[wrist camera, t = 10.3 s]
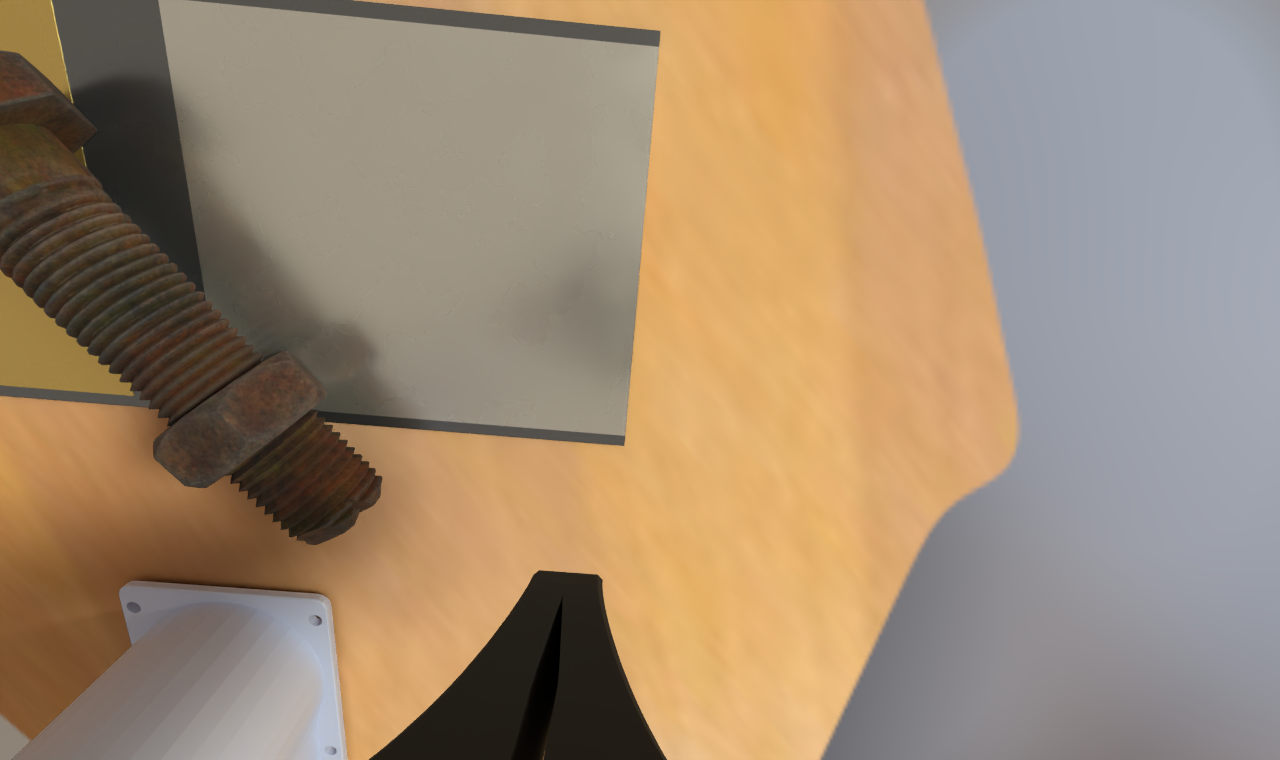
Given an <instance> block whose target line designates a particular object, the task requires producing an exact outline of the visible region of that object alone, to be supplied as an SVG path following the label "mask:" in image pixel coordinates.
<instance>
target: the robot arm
mask: <svg viewBox="0 0 1280 760" xmlns="http://www.w3.org/2000/svg"><path fill="white" fill-rule="evenodd" d="M119 597H120V601H121V605H122V609H123V613H124V617H125V621H126V625H127V629H128V633H129V637H130V641H131V645H132V646H131V647H130V648H129V649H128V650H127V651H126V652H125V653H124V654H123V655H122V656H121V657H120V658H119V659H118V660H116V661H115V662H114V663H113V664H112V665H111V666H110V667H109V668H108V669H107V670H106V671H105V672H104V673H103V674H102V675H101V676H99V677H98V678H97V679H96V680H95V681H94V682H93V683H92V684H91V685H90V686H89V687H88V688H87V689H86V690H85V691H84V692H83V693H81V694H80V695H79V696H78V697H77V698H76V699H75V700H74V701H73V702H72V703H71V704H70V705H69V706H68V707H67V708H66V709H64V710H63V711H62V712H61V713H60V714H59V715H58V716H57V717H56V718H55V719H54V720H53V721H52V722H51V723H50V724H49V725H48V726H46V727H45V728H44V729H43V730H42V731H41V732H40V733H39V734H38V735H37V736H36V737H35V738H34V739H33V740H32V741H31V742H29V743H28V744H27V745H26V746H25V747H24V748H23V749H22V750H21V751H20V752H19V753H18V754H17V755H16V756H15V757H14V758H13V759H12V760H348V759H347V749H346V740H345V730H344V721H343V711H342V702H341V692H340V683H339V673H338V664H337V654H336V644H335V635H334V625H333V616H332V606H331V603H330V600H329V599H328V598H327V597H325V596H324V595H321V594H314V593H301V592H287V591H273V590H259V589H246V588H232V587H218V586H204V585H191V584H177V583H163V582H149V581H130V582H128V583H127V584H125V585H124V586H123V587H122V588H121V589H120V591H119ZM315 615H316V616H319V617H320V618H321V619H320V618H317V617H316V616H315ZM544 753H545V754H544ZM543 757H544V759H543ZM369 760H667V759H666V757H665V756H664V754H663V752H662V750H661V749H660V747H659V745H658V743H657V741H656V739H655V738H654V736H653V734H652V732H651V730H650V728H649V726H648V724H647V722H646V720H645V718H644V716H643V714H642V712H641V710H640V708H639V706H638V704H637V701H636V699H635V697H634V695H633V692H632V690H631V688H630V685H629V683H628V680H627V677H626V675H625V672H624V670H623V667H622V664H621V662H620V659H619V656H618V653H617V650H616V647H615V643H614V640H613V637H612V634H611V630H610V627H609V623H608V619H607V614H606V610H605V605H604V599H603V589H602V579H601V578H600V577H599V576H598V575H594V574H581V573H567V572H554V571H540V570H539V571H538V572H537V573H535V574H534V575H533V577H532V579H531V581H530V583H529V585H528V586H527V588H526V590H525V591H524V593H523V594H522V596H521V598H520V599H519V601H518V602H517V604H516V605H515V607H514V608H513V609H512V611H511V612H510V614H509V615H508V617H507V618H506V619H505V621H504V622H503V623H502V625H501V626H500V627H499V629H498V630H497V631H496V633H495V634H494V635H493V637H492V638H491V639H490V641H489V642H488V643H487V644H486V646H485V647H484V648H483V649H482V650H481V651H480V653H479V654H478V655H477V656H476V657H475V659H474V660H473V661H472V662H471V663H470V664H469V666H468V667H467V668H466V669H465V670H464V671H463V673H462V674H461V675H460V676H459V677H458V678H457V679H456V680H455V681H454V682H453V683H452V685H451V686H450V687H449V688H448V689H447V690H446V691H445V692H444V693H443V694H442V695H441V696H440V697H439V698H438V699H437V700H436V701H435V702H434V703H433V704H432V705H431V706H430V707H429V708H428V709H427V710H426V711H425V712H424V713H422V714H421V715H420V716H419V717H418V718H417V719H416V720H415V721H414V722H413V723H411V724H410V725H409V726H408V727H407V728H406V729H405V730H404V731H403V732H402V733H400V734H399V735H398V736H397V737H396V738H395V739H394V740H392V741H391V742H390V743H389V744H388V745H387V746H385V747H384V748H383V749H382V750H380V751H379V752H378V753H377V754H375V755H374V756H373V757H372V758H370V759H369Z"/></svg>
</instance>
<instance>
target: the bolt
mask: <svg viewBox="0 0 1280 760" xmlns="http://www.w3.org/2000/svg"><path fill="white" fill-rule="evenodd" d="M97 131H98V129H97V128H96V127H95V126H94V125H93V124H92V123H91V122H90V121H89V120H88V119H87V118H86V117H85V116H84V115H83V114H82V113H81V112H80V110H79V109H78V108H77V107H76V106H75V105H74V104H73V103H72V102H71V101H70V100H69V99H68V98H67V97H66V96H65V95H64V94H63V93H62V92H61V91H60V90H59V89H58V88H57V87H56V86H55V85H54V84H53V83H52V82H51V81H50V80H49V79H48V78H47V77H46V76H45V75H43V74H42V73H41V72H40V71H39V70H38V69H37V68H36V67H35V66H33V65H32V64H31V63H30V62H29V61H28V60H26V59H25V58H24V57H23V56H22V55H20V54H19V53H16V52H10V51H2V50H0V270H1V271H2V272H3V274H4V275H5V276H7V277H9V278H12V280H13V281H14V283H15V284H16V286H18V287H20V288H22V289H23V291H24V292H25V294H26V295H27V296H28V297H30V298H32V299H33V301H34V302H35V303H36V305H37V306H38V307H39V308H44V310H43V311H44V312H45V314H46V315H47V316H48V317H50V318H55V323H56V324H57V326H59V327H62V328H65V329H66V333H67V334H68V336H71V337H73V338H76V339H77V340H76V341H77V343H78V344H79V345H80V346H81V347H88V349H87V352H88V353H89V355H93V356H99V358H98V363H99V364H101V365H110V367H109V373H111V374H121V377H120V380H119V381H120V382H122V383H132V385H131V388H130V391H142V392H141V395H140V400H151V401H150V404H149V409H160V410H159V414H158V418H167V417H169V421H168V425H167V426H171V427H169V428H168V429H167V430H166V431H164V432H163V433H162V434H160V435H159V436H158V437H157V438H156V439H155V441H154V443H153V454H154V459H155V460H156V461H157V462H159V463H160V464H161V465H162V466H163V467H164V468H165V469H166V470H168V471H169V472H170V473H171V474H172V475H173V476H174V477H175V478H177V479H178V480H179V481H180V482H181V483H182V484H183V485H184V486H188V487H196V488H207V487H209V486H210V485H212V484H213V483H215V482H216V481H217V480H219V479H220V478H222V477H223V476H226V475H232V477H231V484H234V483H240V488H239V492H240V491H247V490H249V491H248V499H253V498H257V503H256V507H260V506H265V515H267V514H273V513H274V514H273V522H278V521H281V530H283V529H288V528H289V537H294V536H297V541H306V543H307V544H310V545H317V544H320V543H322V542H325V541H327V540H330V539H332V538H334V537H336V536H338V535H341V534H343V533H345V532H346V531H347V530H348V529H350V528H351V527H352V526H353V525H354V524H355V522H356V520H357V517H358V515H359V512H361V511H363V510H366V509H368V508H370V507H372V506H373V505H374V504H375V503H376V502H377V500H378V499H379V498H380V494H381V488H380V487H381V482H382V476H375V472H376V470H375V468H368V467H369V462H366V461H361V459H362V456H361V454H354V455H353V453H354V449H355V448H354V447H346V445H347V441H348V440H339V437H340V433H339V432H332V427H333V425H324V422H325V417H316V416H317V412H318V410H311V409H312V408H313V407H315V406H316V405H317V404H318V403H320V402H321V401H322V400H323V399H324V398H325V397H326V396H327V392H326V389H325V388H324V386H323V385H322V383H321V382H320V381H319V380H318V379H317V378H316V377H315V376H314V375H313V374H312V373H311V372H310V371H309V370H308V369H307V368H306V367H305V366H304V365H303V364H302V363H301V361H300V360H299V359H298V358H296V357H295V356H294V355H293V354H291V353H290V352H288V351H281V352H279V353H277V354H276V355H274V356H272V357H270V358H269V359H267V360H265V361H264V362H261V360H262V356H263V353H253V351H254V347H255V345H245V342H246V336H237V333H238V329H239V328H228V326H229V323H230V320H229V319H228V318H224V319H220V317H221V314H222V312H221V311H220V310H219V309H216V310H211V309H212V305H213V302H212V301H203V298H204V293H203V292H198V291H195V288H196V285H195V284H194V283H193V282H185V281H186V278H187V276H186V275H185V274H184V273H183V272H182V273H176V272H177V265H176V264H174V263H168V261H169V258H168V256H167V255H166V254H164V253H161V254H158V253H159V250H160V248H159V247H158V246H157V245H156V244H155V243H154V244H150V237H149V236H147V235H146V234H140V233H141V229H140V228H139V226H137V225H136V224H131V223H132V221H131V218H130V216H129V215H126V214H123V213H122V210H121V207H119V206H118V205H117V204H116V203H113V202H112V199H111V198H110V197H109V196H108V195H107V193H106V192H105V191H104V190H103V187H102V184H101V183H100V182H99V180H98V179H97V178H96V177H95V176H94V175H93V174H92V173H91V172H90V171H89V170H88V169H87V168H86V167H85V166H84V165H83V164H82V163H81V162H80V161H79V160H78V159H77V158H76V157H75V156H74V155H73V154H74V153H75V152H76V151H77V150H78V149H79V148H80V147H81V146H82V145H83V144H85V143H86V142H87V141H88V140H89V139H90V138H91V137H92V136H93V135H94V134H95V133H96V132H97Z"/></svg>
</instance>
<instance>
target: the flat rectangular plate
mask: <svg viewBox="0 0 1280 760" xmlns="http://www.w3.org/2000/svg"><path fill="white" fill-rule="evenodd" d="M659 41H660V31H655V30H645V29H635V28H624V27H614V26H604V25H594V24H584V23H574V22H564V21H554V20H544V19H534V18H524V17H514V16H504V15H494V14H484V13H474V12H464V11H454V10H444V9H434V8H423V7H413V6H403V5H393V4H383V3H373V2H363V1H353V0H0V50H2V51H10V52H16V53H19V54H20V55H22V56H23V57H24V58H25V59H26V60H28V61H29V62H30V63H31V64H32V65H33V66H35V67H36V68H37V69H38V70H39V71H40V72H41V73H42V74H43V75H45V76H46V77H47V78H48V79H49V80H50V81H51V82H52V83H53V84H54V85H55V86H56V87H57V88H58V89H59V90H60V91H61V92H62V93H63V94H64V95H65V96H66V97H67V98H68V99H69V100H70V101H71V102H72V103H73V104H74V105H75V106H76V107H77V108H78V109H79V110H80V112H81V113H82V114H83V115H84V116H85V117H86V118H87V119H88V120H89V121H90V122H91V123H92V124H93V125H94V126H95V127H96V128H97V129H98V131H97V132H96V133H95V134H94V135H93V136H92V137H91V138H90V139H89V140H88V141H87V142H86V143H85V144H83V145H82V146H81V147H80V148H79V149H78V150H77V151H76V152H75V153H74V154H73V155H74V156H75V157H76V158H77V159H78V160H79V161H80V162H81V163H82V164H83V165H84V166H85V167H86V168H87V169H88V170H89V171H90V172H91V173H92V174H93V175H94V176H95V177H96V178H97V179H98V180H99V182H100V183H101V184H102V187H103V190H104V191H105V192H106V193H107V195H108V196H109V197H110V198H111V199H112V202H113V203H116V204H117V205H118V206H119V207H121V210H122V213H123V214H126V215H129V216H130V218H131V221H132V223H131V224H136V225H137V226H139V228H140V229H141V233H140V234H146V235H147V236H149V237H150V244H154V243H155V244H156V245H157V246H158V247H159V248H160V250H159V253H158V254H161V253H164V254H166V255H167V256H168V258H169V261H168V263H174V264H176V265H177V272H176V273H182V272H183V273H184V274H185V275H186V276H187V278H186V281H185V282H193V283H194V284H195V285H196V288H195V291H198V292H203V293H204V298H203V301H212V302H213V305H212V309H211V310H216V309H219V310H220V311H221V312H222V314H221V317H220V319H224V318H228V319H229V320H230V323H229V326H228V328H239V329H238V333H237V336H246V342H245V345H255V347H254V351H253V353H263V356H262V360H261V362H264V361H265V360H267V359H269V358H270V357H272V356H274V355H276V354H277V353H279V352H281V351H288V352H290V353H291V354H293V355H294V356H295V357H296V358H298V359H299V360H300V361H301V363H302V364H303V365H304V366H305V367H306V368H307V369H308V370H309V371H310V372H311V373H312V374H313V375H314V376H315V377H316V378H317V379H318V380H319V381H320V382H321V383H322V385H323V386H324V388H325V389H326V392H327V396H326V397H325V398H324V399H323V400H322V401H321V402H320V403H318V404H317V405H316V406H315V407H313V408H312V409H311V410H318V412H317V416H316V417H325V422H335V423H348V424H360V425H373V426H385V427H397V428H410V429H422V430H435V431H447V432H460V433H472V434H484V435H497V436H509V437H522V438H534V439H547V440H559V441H572V442H584V443H596V444H609V445H621V446H624V442H625V431H626V419H627V408H628V396H629V385H630V373H631V362H632V350H633V339H634V328H635V316H636V305H637V293H638V282H639V270H640V259H641V247H642V236H643V224H644V213H645V201H646V190H647V179H648V167H649V156H650V144H651V133H652V121H653V110H654V98H655V87H656V75H657V64H658V52H659ZM43 310H44V308H39V307H38V306H37V305H36V303H35V302H34V301H33V299H32V298H30V297H28V296H27V295H26V294H25V292H24V291H23V289H22V288H20V287H18V286H16V284H15V283H14V281H13V280H12V278H9V277H7V276H5V275H4V274H3V272H2V271H1V270H0V396H12V397H24V398H37V399H49V400H62V401H74V402H87V403H99V404H111V405H124V406H136V407H149V404H150V401H151V400H140V395H141V392H142V391H130V388H131V385H132V383H122V382H120V381H119V380H120V377H121V374H111V373H109V367H110V365H101V364H99V363H98V358H99V356H93V355H89V353H88V352H87V349H88V347H81V346H80V345H79V344H78V343H77V341H76V340H77V339H76V338H73V337H71V336H68V334H67V333H66V329H65V328H62V327H59V326H57V324H56V323H55V318H50V317H48V316H47V315H46V314H45V312H44V311H43Z"/></svg>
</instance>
